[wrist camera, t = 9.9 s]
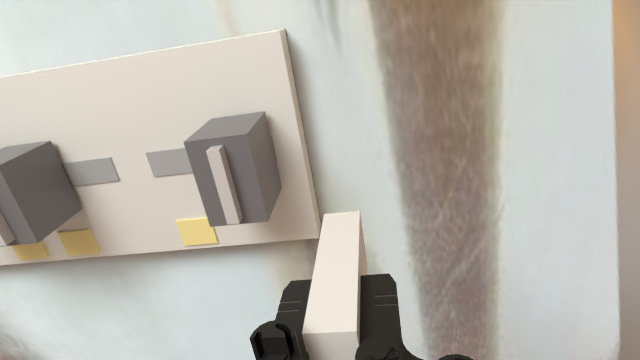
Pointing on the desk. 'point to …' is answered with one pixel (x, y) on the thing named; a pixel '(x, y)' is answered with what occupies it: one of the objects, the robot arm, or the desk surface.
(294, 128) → the console
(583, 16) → the desk surface
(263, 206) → the slider
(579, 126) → the desk surface
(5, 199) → the slider
